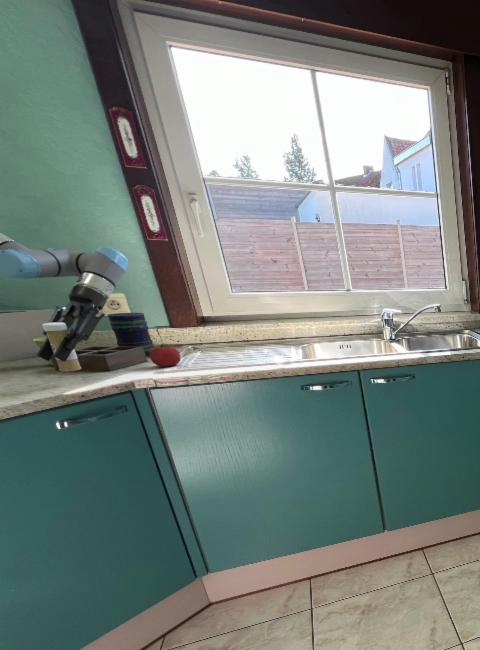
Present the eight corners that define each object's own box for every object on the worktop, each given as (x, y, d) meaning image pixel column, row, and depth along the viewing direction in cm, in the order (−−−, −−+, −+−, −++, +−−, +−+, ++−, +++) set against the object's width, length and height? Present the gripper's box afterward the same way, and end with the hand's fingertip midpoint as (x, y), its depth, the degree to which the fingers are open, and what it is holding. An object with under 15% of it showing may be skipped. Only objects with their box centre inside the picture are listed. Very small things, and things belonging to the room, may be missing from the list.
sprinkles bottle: (55, 371, 141) (36, 323, 136) (73, 368, 145) (55, 321, 140) (69, 372, 140) (51, 324, 135) (86, 368, 145) (69, 322, 140)
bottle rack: (55, 370, 157) (49, 355, 155) (97, 360, 172) (92, 346, 170) (110, 371, 159) (104, 355, 157) (147, 361, 173) (142, 346, 171)
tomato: (154, 364, 168) (147, 343, 165) (183, 362, 172) (177, 342, 170) (151, 369, 162) (144, 347, 159) (182, 366, 166) (175, 345, 164)
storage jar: (163, 354, 184) (151, 313, 179) (135, 359, 175) (121, 316, 170) (143, 352, 186) (130, 312, 181) (114, 357, 177) (99, 314, 172)
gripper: (129, 302, 150) (93, 367, 141) (76, 300, 151) (36, 364, 142) (106, 285, 143) (66, 352, 134) (51, 282, 144) (7, 349, 135)
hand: (51, 358), depth 138 cm, fingers closed on sprinkles bottle, 4 cm apart
